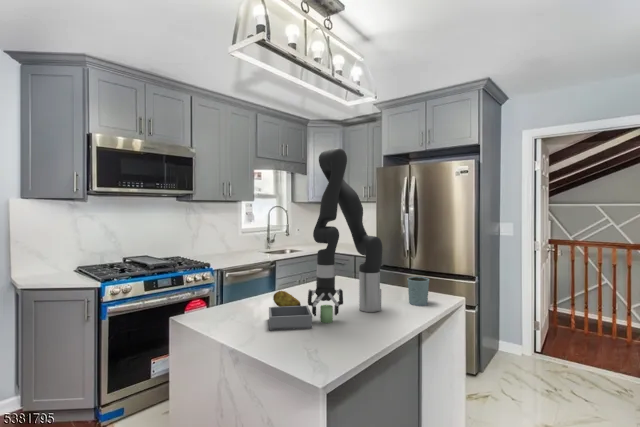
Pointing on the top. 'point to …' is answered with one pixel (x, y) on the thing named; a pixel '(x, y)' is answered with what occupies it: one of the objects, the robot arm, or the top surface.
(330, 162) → the robot arm
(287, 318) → the bin
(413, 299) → the teal cup
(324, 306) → the cucumber chunk
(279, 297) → the potato
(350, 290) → the top surface
